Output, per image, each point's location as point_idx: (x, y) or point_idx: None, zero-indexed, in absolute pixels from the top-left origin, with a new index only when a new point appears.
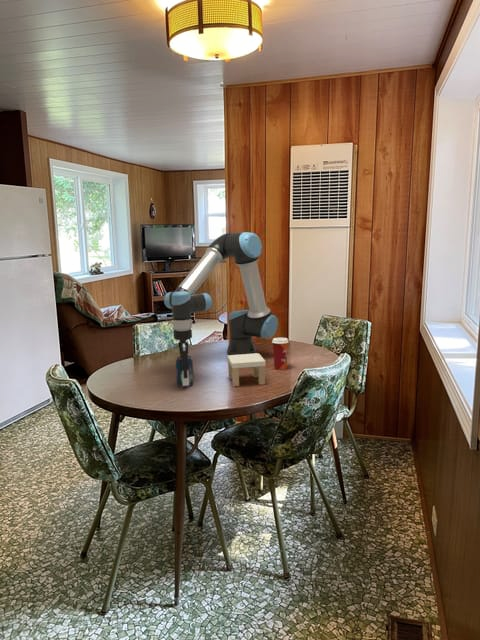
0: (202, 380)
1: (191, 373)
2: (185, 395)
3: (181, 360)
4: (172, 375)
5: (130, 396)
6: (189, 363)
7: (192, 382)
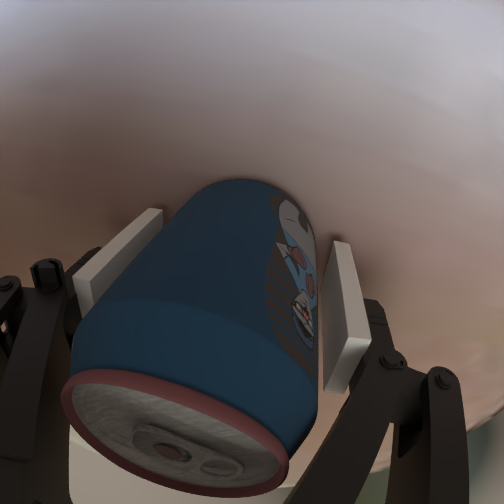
0: (170, 78)
1: (296, 249)
2: (465, 291)
3: (268, 476)
4: (33, 259)
5: (310, 455)
6: (307, 369)
7: (291, 200)
